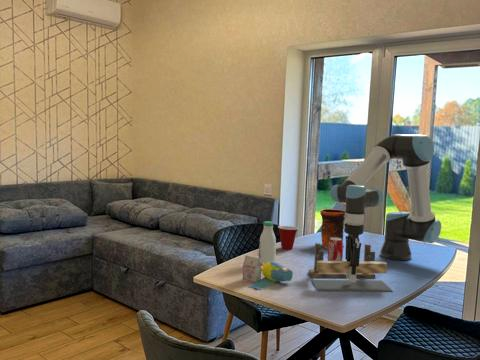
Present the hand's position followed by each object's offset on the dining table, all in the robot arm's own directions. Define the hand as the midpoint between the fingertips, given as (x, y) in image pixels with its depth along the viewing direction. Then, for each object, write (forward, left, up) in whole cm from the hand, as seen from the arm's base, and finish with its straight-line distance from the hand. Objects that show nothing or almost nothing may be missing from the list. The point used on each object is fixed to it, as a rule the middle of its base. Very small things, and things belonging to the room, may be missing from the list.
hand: (350, 280), depth 181 cm
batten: (0, 0, +3) cm, 3 cm away
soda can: (-2, -33, -3) cm, 33 cm away
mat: (0, 0, -3) cm, 3 cm away
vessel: (-9, -66, -3) cm, 66 cm away
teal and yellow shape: (+31, -6, -3) cm, 31 cm away
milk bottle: (+31, -31, -3) cm, 44 cm away
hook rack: (0, -12, -3) cm, 12 cm away
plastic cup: (+17, -59, -3) cm, 61 cm away
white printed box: (+40, -7, -3) cm, 41 cm away
